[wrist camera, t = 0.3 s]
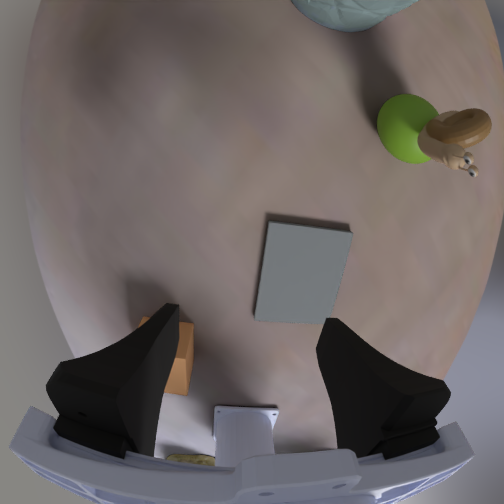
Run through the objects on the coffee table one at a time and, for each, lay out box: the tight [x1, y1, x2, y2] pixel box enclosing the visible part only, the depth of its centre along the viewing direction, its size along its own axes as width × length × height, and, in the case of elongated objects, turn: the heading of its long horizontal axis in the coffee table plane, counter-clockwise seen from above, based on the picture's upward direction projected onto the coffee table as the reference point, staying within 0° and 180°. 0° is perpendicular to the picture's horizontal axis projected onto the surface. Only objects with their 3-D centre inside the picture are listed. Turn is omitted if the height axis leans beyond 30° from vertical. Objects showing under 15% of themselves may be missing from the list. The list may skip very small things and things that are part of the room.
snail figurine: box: [377, 94, 492, 177], centre depth 13 cm, size 5×6×12 cm
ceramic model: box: [166, 454, 215, 466], centre depth 33 cm, size 14×11×10 cm
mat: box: [254, 220, 353, 324], centre depth 23 cm, size 9×7×1 cm
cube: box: [138, 316, 194, 396], centre depth 23 cm, size 5×5×5 cm
